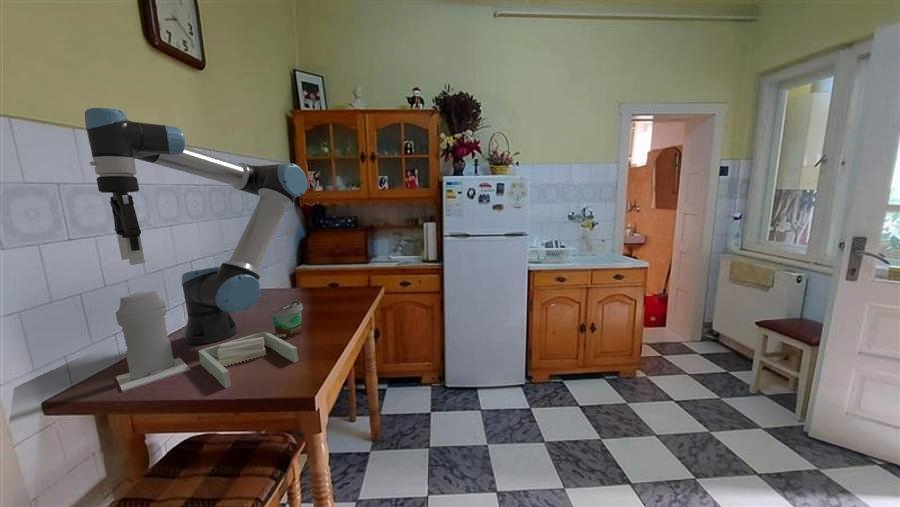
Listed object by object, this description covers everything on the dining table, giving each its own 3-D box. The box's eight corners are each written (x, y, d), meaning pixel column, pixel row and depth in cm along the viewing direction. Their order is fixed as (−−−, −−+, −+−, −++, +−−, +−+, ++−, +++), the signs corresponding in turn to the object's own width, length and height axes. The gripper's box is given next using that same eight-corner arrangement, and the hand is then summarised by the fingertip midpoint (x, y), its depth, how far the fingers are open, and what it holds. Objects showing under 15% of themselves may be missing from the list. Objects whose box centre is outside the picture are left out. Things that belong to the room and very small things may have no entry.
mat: (116, 378, 98) (115, 376, 98) (180, 359, 108) (179, 357, 108) (122, 392, 90) (122, 390, 90) (190, 370, 100) (189, 368, 100)
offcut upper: (222, 352, 107) (220, 344, 106) (264, 344, 111) (263, 336, 110) (218, 359, 102) (217, 350, 102) (263, 351, 106) (261, 342, 106)
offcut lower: (216, 362, 106) (215, 354, 105) (262, 350, 113) (261, 342, 112) (218, 370, 101) (217, 361, 101) (266, 357, 108) (265, 349, 108)
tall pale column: (132, 382, 94) (115, 298, 90) (125, 379, 96) (109, 297, 92) (179, 365, 103) (166, 288, 99) (172, 362, 105) (158, 286, 101)
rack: (200, 364, 104) (198, 350, 103) (267, 342, 117) (265, 330, 117) (225, 388, 90) (223, 372, 89) (298, 361, 103) (296, 347, 102)
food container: (291, 341, 117) (287, 311, 116) (274, 341, 119) (270, 311, 117) (312, 327, 129) (309, 300, 128) (297, 327, 130) (293, 299, 129)
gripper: (91, 178, 96) (107, 259, 100) (101, 172, 80) (120, 269, 83) (128, 178, 102) (142, 255, 105) (146, 172, 85) (161, 263, 88)
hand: (132, 261), depth 94 cm, fingers open, 13 cm apart
